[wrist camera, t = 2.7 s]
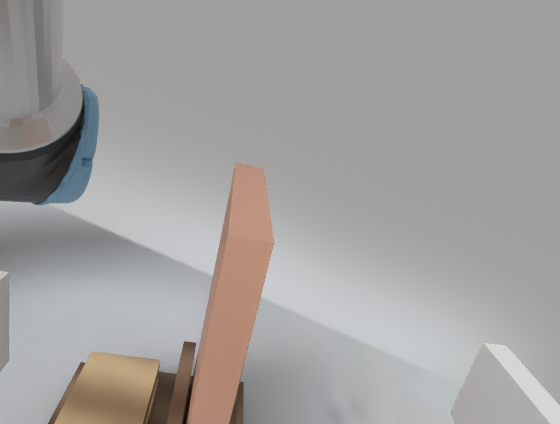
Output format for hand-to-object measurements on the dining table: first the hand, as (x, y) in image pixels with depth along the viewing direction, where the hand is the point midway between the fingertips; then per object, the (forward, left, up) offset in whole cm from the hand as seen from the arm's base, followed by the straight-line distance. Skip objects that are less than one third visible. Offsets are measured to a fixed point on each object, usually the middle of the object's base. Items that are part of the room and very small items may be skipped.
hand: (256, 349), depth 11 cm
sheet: (-13, 0, -20) cm, 24 cm away
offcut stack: (-13, -7, -20) cm, 24 cm away
